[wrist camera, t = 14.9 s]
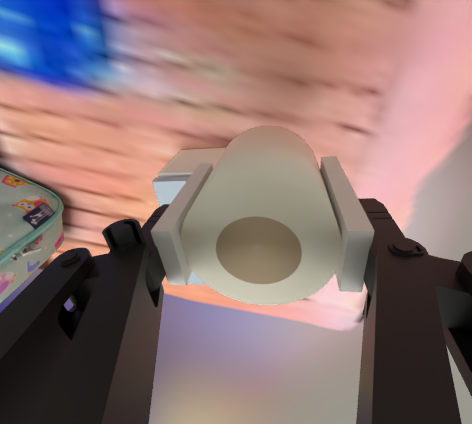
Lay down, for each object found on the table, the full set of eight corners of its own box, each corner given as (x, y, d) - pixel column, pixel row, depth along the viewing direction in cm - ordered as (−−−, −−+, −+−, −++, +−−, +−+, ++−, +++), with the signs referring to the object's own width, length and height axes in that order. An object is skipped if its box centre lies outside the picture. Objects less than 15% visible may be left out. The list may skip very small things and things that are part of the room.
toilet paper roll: (211, 129, 15) (162, 183, 9) (321, 121, 13) (353, 176, 7) (225, 218, 18) (196, 303, 12) (315, 217, 16) (334, 310, 11)
